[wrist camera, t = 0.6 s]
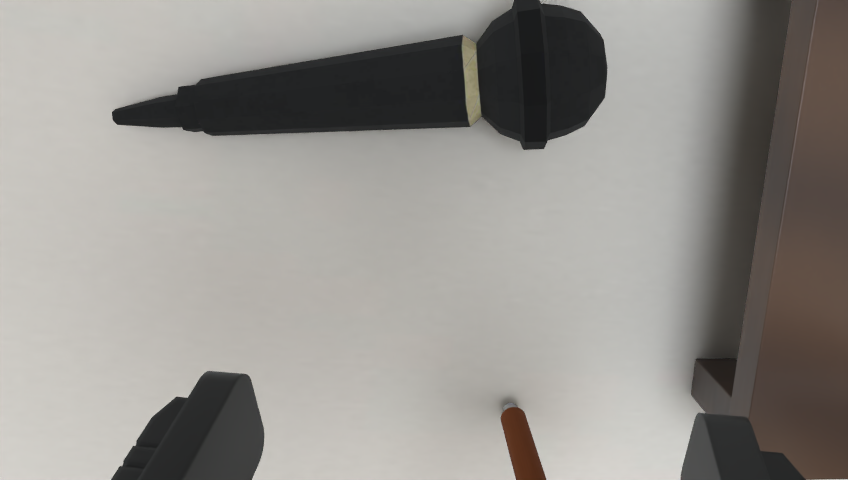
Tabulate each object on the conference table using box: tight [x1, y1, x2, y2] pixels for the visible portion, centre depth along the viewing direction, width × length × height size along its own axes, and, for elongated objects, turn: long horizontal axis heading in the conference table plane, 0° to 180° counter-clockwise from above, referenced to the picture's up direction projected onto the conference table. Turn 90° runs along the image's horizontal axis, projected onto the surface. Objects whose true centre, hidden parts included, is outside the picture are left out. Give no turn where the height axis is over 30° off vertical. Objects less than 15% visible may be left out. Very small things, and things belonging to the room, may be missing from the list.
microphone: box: [112, 0, 607, 150], centre depth 26 cm, size 6×6×20 cm
